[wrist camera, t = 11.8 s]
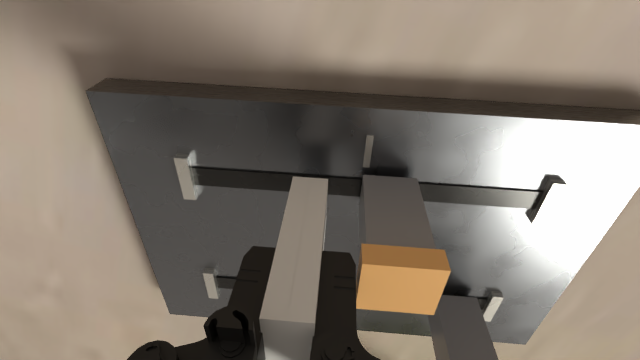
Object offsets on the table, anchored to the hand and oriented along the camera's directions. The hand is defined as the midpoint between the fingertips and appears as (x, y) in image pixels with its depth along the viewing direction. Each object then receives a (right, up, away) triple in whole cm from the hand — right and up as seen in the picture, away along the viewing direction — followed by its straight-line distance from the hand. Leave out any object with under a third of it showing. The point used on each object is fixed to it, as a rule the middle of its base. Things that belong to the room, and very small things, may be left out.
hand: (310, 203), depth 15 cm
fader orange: (+4, 0, +1) cm, 4 cm away
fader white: (+8, -6, +5) cm, 12 cm away
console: (+2, -2, +5) cm, 6 cm away
